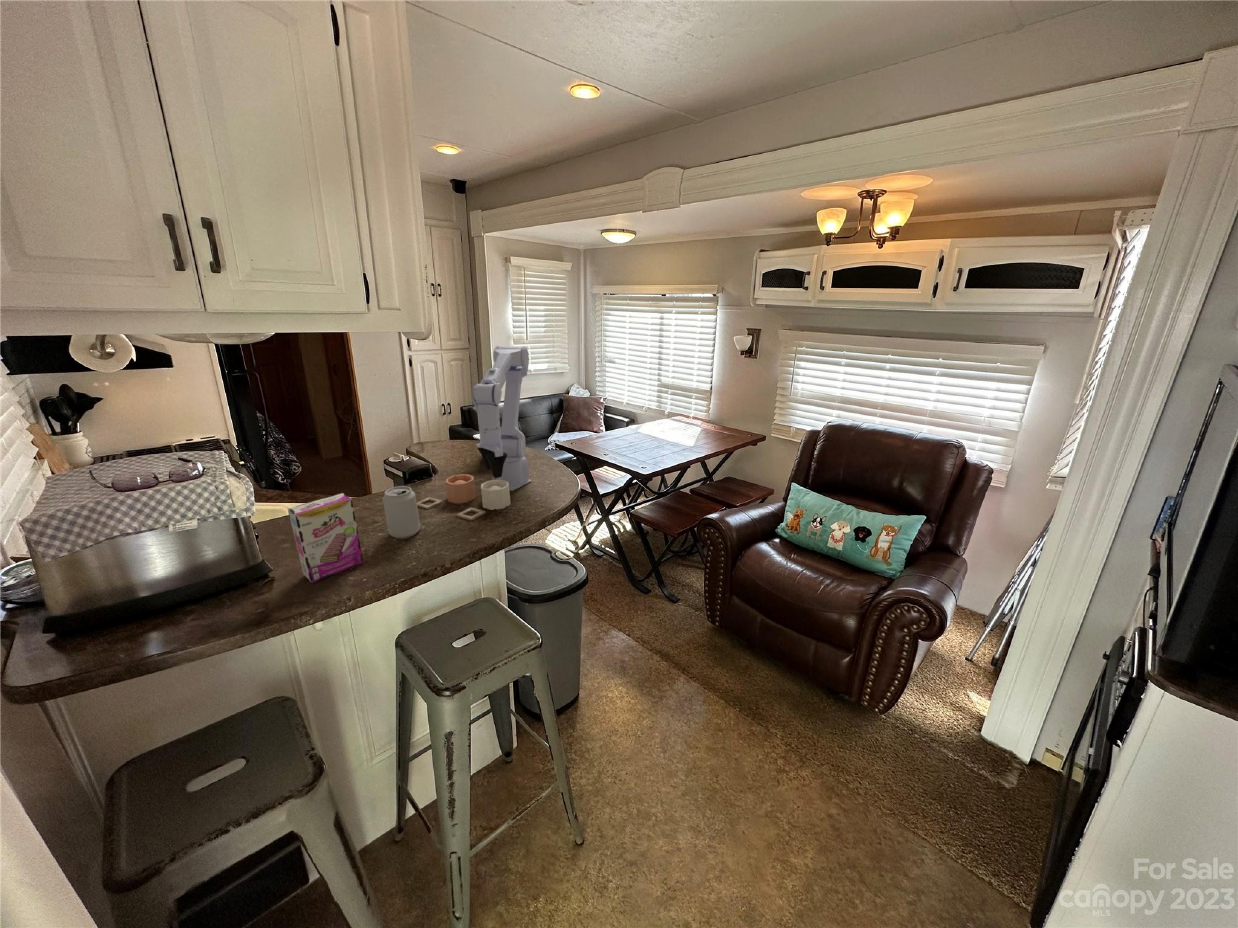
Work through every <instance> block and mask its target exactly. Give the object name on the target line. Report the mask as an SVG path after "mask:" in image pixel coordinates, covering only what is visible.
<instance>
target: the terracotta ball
mask: <svg viewBox="0 0 1238 928" xmlns="http://www.w3.org/2000/svg"><path fill="white" fill-rule="evenodd" d="M458 483H465V481H463V480H458V481H456V482H454V483H453V484H458Z"/></svg>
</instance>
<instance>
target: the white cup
mask: <svg viewBox="0 0 1238 928" xmlns="http://www.w3.org/2000/svg"><path fill="white" fill-rule="evenodd" d="M492 486H499V487H501V489H492V490H490V489H489V488H491V487H492ZM480 491H481V492H480V493H481V502H482V508H483V509H486V508H487V510H491V511H494V509H496V510H503V509H505V508H507V507H509V506H511V504H512V503H511V495H510V490H509V482H508V481H504V480H499V479H492V480H487V481H485V482H483V483H481V484H480ZM506 506H507V507H506Z"/></svg>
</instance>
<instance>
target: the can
mask: <svg viewBox="0 0 1238 928" xmlns="http://www.w3.org/2000/svg"><path fill="white" fill-rule="evenodd" d="M416 497H417V496H416V493H415V492H414V491H413V490H412V488H411V487H410V486H406V485H399V486H394V487H390V488H388V489H386V490H385V491H384V496H383V497H382V504H383V508H384V514H385V520H386V525H387V531H388V535H389V536H391V537H393V538H395V539H407V538H411V537H413V536H415V535H416V534H417V533H418V532H419V531H420V529H421V523H420V522H421V521H420V518H419V517H420V516H419V509H418V506H417V502H418V501H417V498H416Z"/></svg>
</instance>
